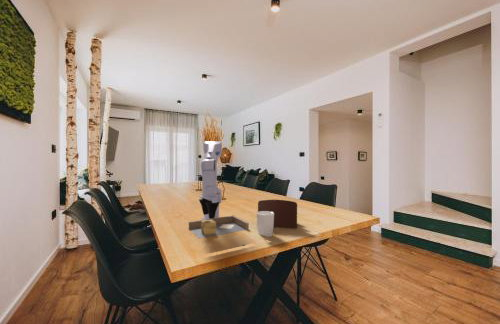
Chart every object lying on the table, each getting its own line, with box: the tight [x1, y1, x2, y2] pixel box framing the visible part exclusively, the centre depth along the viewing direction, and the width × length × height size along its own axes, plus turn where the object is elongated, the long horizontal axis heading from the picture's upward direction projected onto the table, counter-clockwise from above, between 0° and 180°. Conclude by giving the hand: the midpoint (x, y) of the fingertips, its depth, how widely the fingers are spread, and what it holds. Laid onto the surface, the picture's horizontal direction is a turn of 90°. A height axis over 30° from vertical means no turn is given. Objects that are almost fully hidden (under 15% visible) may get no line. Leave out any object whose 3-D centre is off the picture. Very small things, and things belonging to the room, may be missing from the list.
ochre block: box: [201, 220, 216, 235], centre depth 97 cm, size 5×5×5 cm
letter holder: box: [257, 199, 298, 230], centre depth 113 cm, size 10×20×14 cm, turn 80°
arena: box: [188, 215, 250, 239], centre depth 103 cm, size 16×24×4 cm, turn 121°
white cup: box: [256, 211, 274, 238], centre depth 97 cm, size 8×8×10 cm
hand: (208, 216), depth 97 cm, fingers open, 7 cm apart
